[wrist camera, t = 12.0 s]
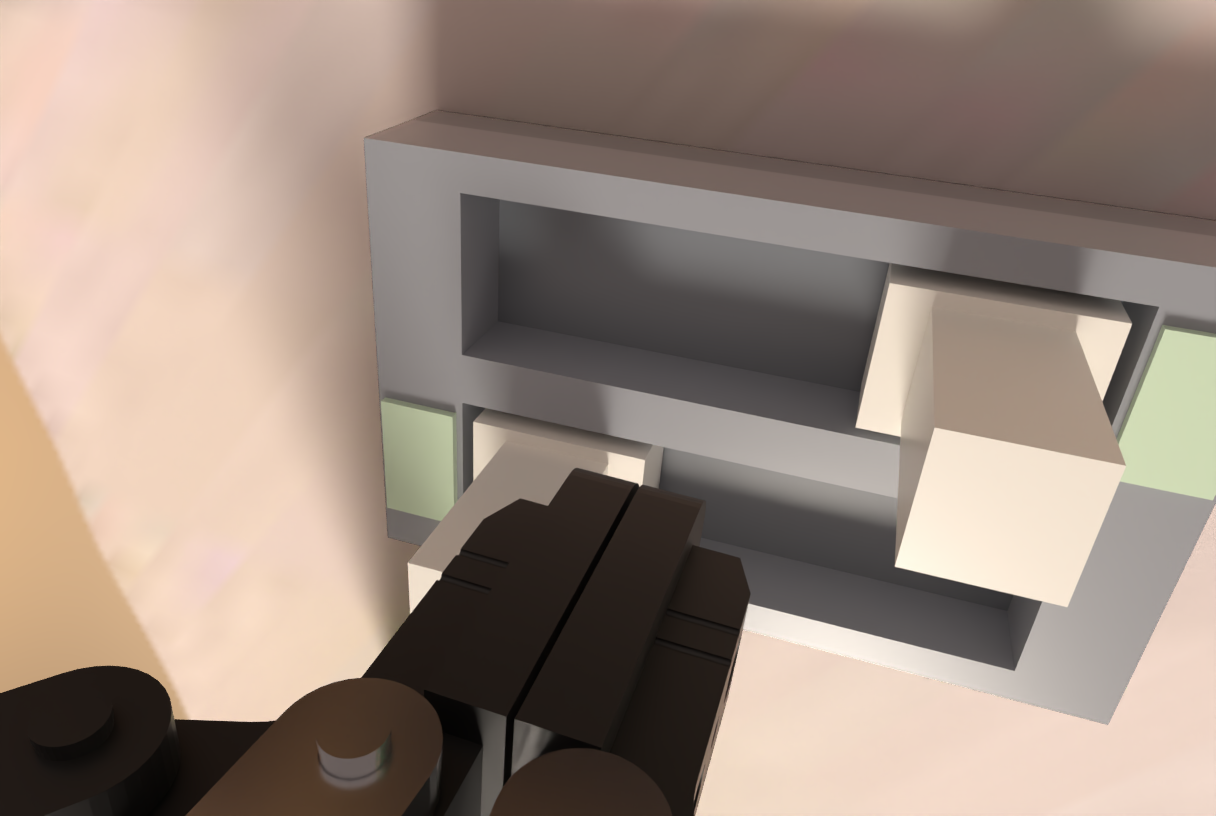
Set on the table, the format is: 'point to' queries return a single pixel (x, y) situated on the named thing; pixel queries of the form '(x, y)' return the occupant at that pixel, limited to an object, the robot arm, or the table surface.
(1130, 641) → the switch bank
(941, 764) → the table surface
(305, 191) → the table surface
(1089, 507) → the tab
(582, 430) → the tab
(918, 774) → the table surface
